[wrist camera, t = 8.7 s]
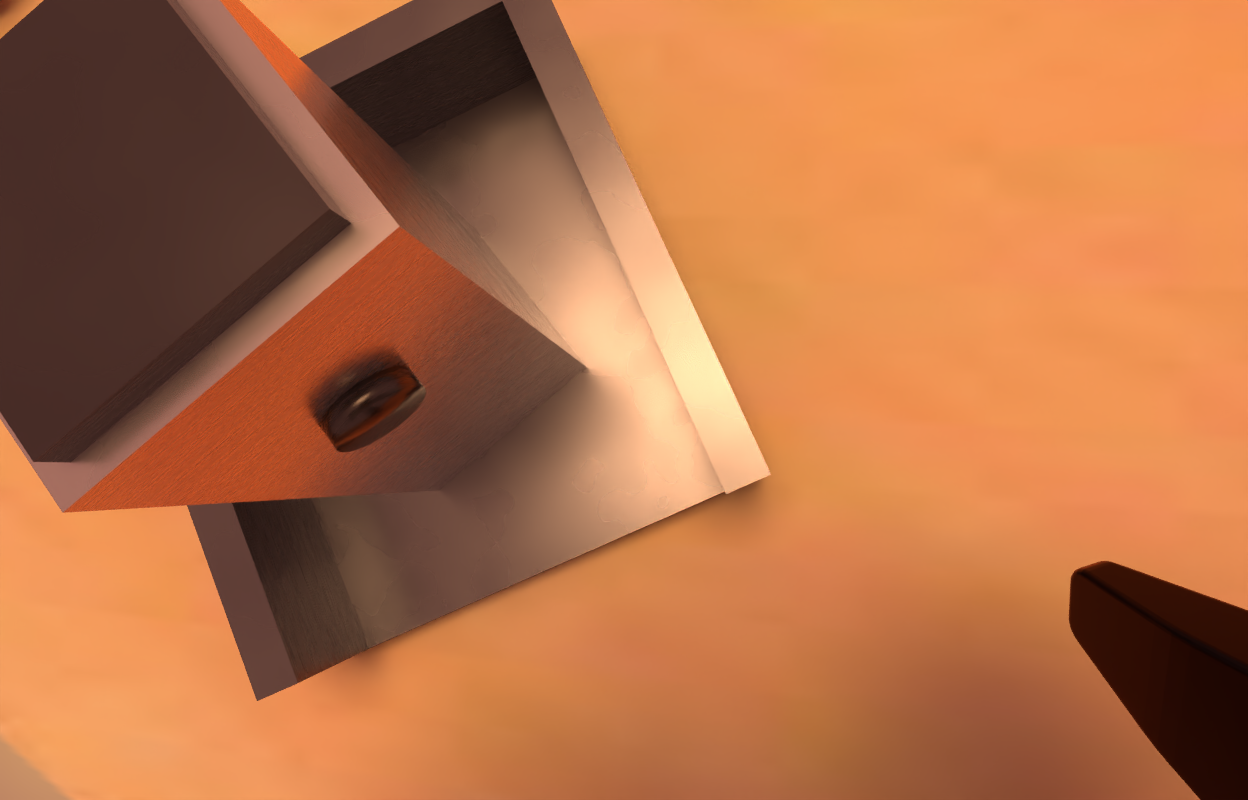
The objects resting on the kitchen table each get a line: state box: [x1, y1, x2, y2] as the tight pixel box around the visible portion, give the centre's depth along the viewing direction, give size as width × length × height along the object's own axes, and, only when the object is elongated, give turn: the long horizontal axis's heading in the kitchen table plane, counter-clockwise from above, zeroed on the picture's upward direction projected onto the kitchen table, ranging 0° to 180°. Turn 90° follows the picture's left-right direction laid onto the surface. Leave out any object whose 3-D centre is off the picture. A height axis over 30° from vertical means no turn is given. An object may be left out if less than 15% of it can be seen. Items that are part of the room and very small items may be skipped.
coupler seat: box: [187, 0, 771, 701], centre depth 20 cm, size 13×12×4 cm
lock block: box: [0, 0, 586, 513], centre depth 15 cm, size 5×5×12 cm
